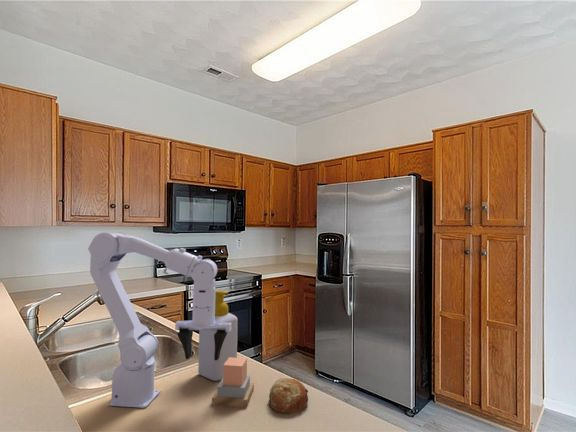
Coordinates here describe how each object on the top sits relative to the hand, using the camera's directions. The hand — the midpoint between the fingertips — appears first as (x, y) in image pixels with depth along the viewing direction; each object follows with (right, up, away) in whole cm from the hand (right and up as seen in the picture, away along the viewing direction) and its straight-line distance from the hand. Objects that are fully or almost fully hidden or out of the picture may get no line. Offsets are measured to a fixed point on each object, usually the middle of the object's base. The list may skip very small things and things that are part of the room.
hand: (202, 358), depth 86 cm
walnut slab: (+8, -11, +1) cm, 14 cm away
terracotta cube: (+8, -6, +1) cm, 11 cm away
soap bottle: (+1, -11, +15) cm, 19 cm away
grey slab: (+8, -9, 0) cm, 12 cm away
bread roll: (+23, -11, -2) cm, 25 cm away
